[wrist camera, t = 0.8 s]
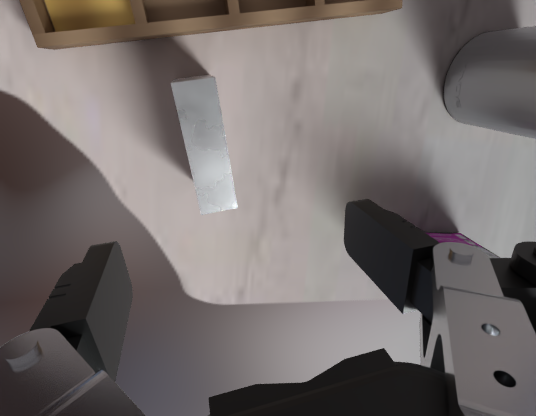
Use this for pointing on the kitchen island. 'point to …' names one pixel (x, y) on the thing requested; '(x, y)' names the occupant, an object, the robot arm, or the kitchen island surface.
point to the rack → (175, 17)
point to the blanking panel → (205, 142)
